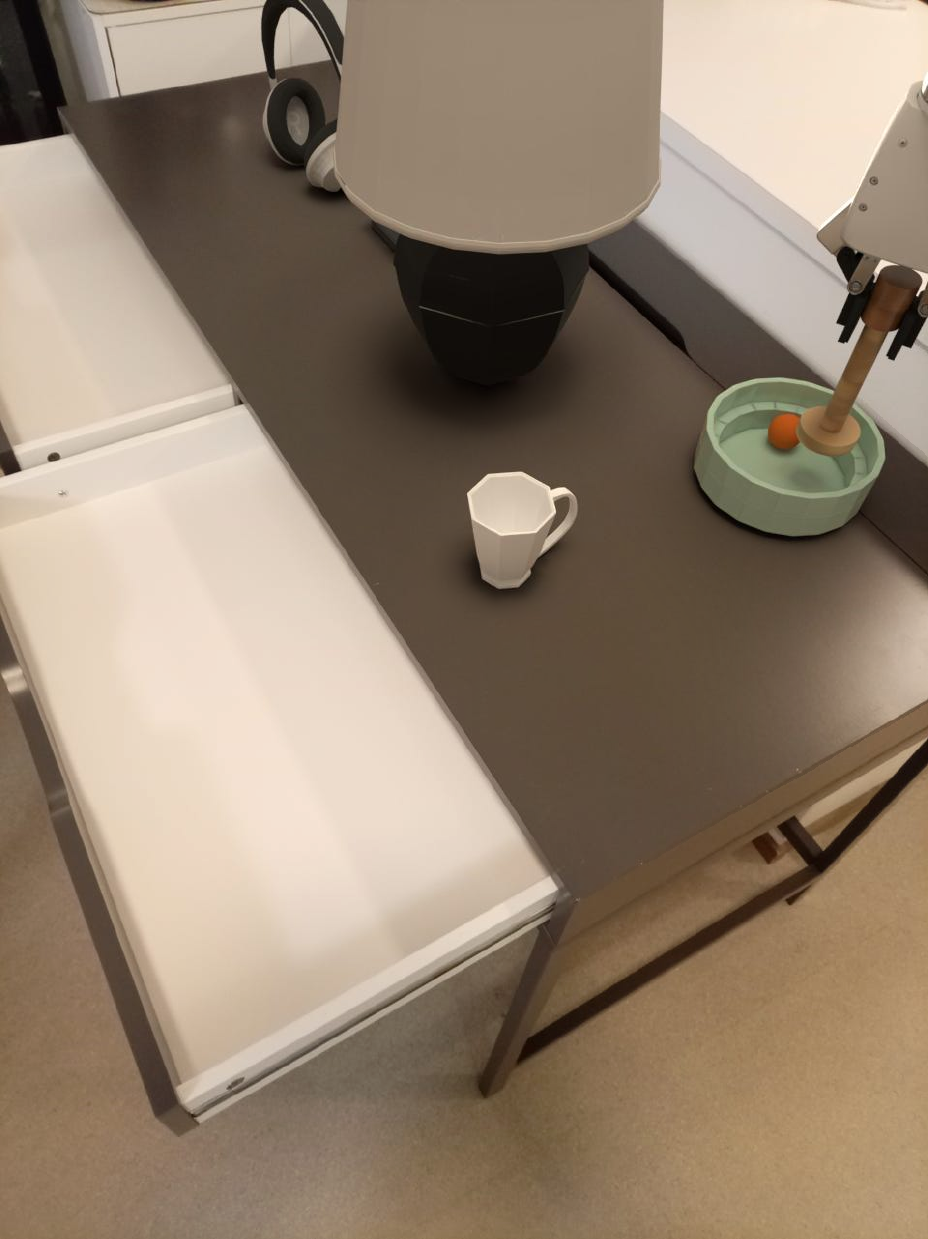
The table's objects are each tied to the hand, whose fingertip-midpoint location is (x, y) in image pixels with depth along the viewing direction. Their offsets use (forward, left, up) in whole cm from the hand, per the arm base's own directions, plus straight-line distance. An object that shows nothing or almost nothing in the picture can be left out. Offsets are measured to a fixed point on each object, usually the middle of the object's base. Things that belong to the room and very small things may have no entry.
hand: (871, 340), depth 68 cm
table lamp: (+33, 0, -16) cm, 37 cm away
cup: (+18, +21, -16) cm, 32 cm away
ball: (+3, -4, -14) cm, 15 cm away
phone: (+50, -20, -16) cm, 56 cm away
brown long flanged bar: (0, 0, -10) cm, 10 cm away
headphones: (+69, -22, -16) cm, 74 cm away
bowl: (+2, 0, -16) cm, 16 cm away
